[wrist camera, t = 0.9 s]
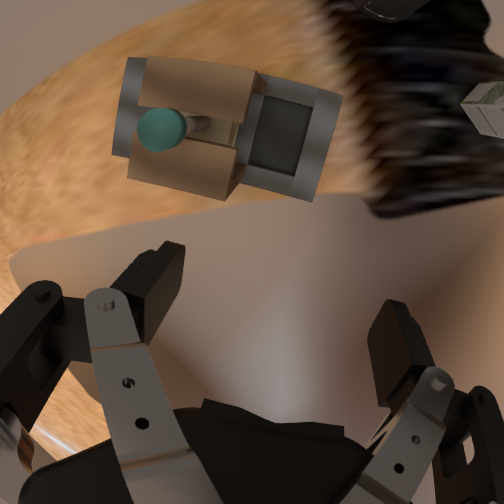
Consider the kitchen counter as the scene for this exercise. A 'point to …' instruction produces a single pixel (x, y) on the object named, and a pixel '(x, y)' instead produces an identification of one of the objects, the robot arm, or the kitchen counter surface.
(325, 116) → the tunnel
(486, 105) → the syrup box
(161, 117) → the slider block
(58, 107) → the kitchen counter surface
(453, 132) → the kitchen counter surface
